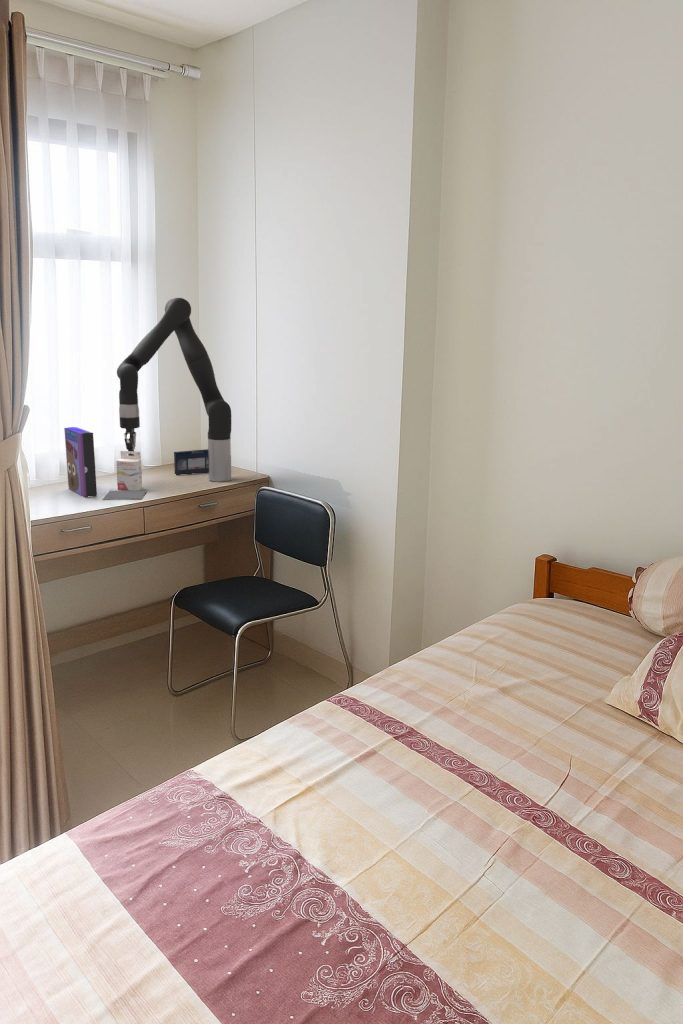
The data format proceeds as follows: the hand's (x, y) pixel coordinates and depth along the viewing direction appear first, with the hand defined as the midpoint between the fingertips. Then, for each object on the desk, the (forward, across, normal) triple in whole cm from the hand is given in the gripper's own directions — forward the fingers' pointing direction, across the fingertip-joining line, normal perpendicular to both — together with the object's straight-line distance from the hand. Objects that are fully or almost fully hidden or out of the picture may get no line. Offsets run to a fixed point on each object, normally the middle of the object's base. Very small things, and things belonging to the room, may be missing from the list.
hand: (131, 459), depth 308 cm
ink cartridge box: (+11, -7, 0) cm, 13 cm away
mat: (+10, -18, 0) cm, 21 cm away
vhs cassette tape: (+11, +24, -23) cm, 35 cm away
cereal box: (+11, -12, +17) cm, 23 cm away
